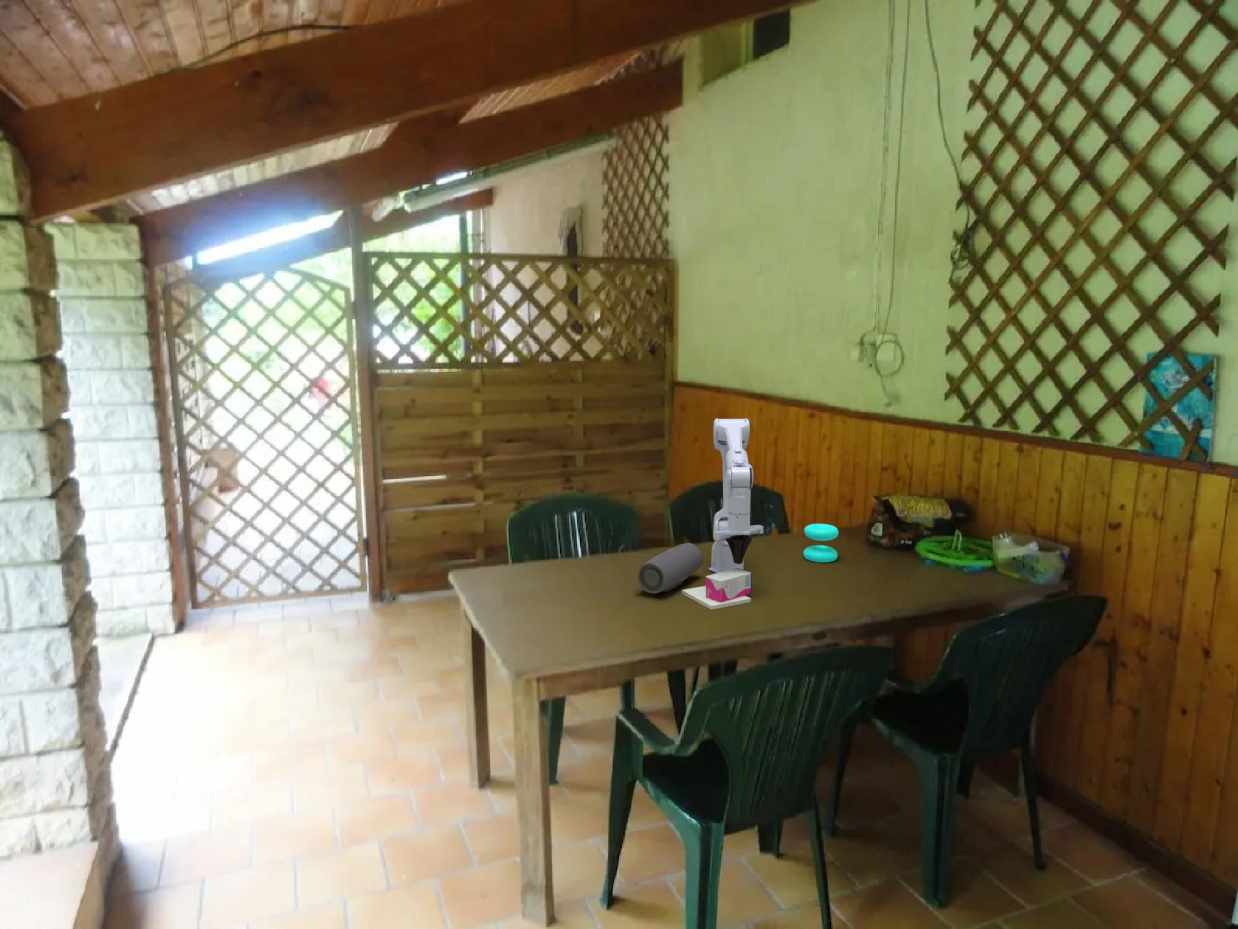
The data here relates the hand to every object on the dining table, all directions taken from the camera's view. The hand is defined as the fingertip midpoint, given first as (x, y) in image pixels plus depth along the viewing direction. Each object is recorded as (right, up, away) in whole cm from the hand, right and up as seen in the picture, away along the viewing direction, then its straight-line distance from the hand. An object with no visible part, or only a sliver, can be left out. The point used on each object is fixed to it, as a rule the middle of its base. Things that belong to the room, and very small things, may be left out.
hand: (737, 563), depth 215 cm
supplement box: (+2, -5, 0) cm, 5 cm away
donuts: (+30, -3, +33) cm, 45 cm away
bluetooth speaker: (-17, -8, +8) cm, 20 cm away
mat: (-6, -9, -2) cm, 11 cm away
